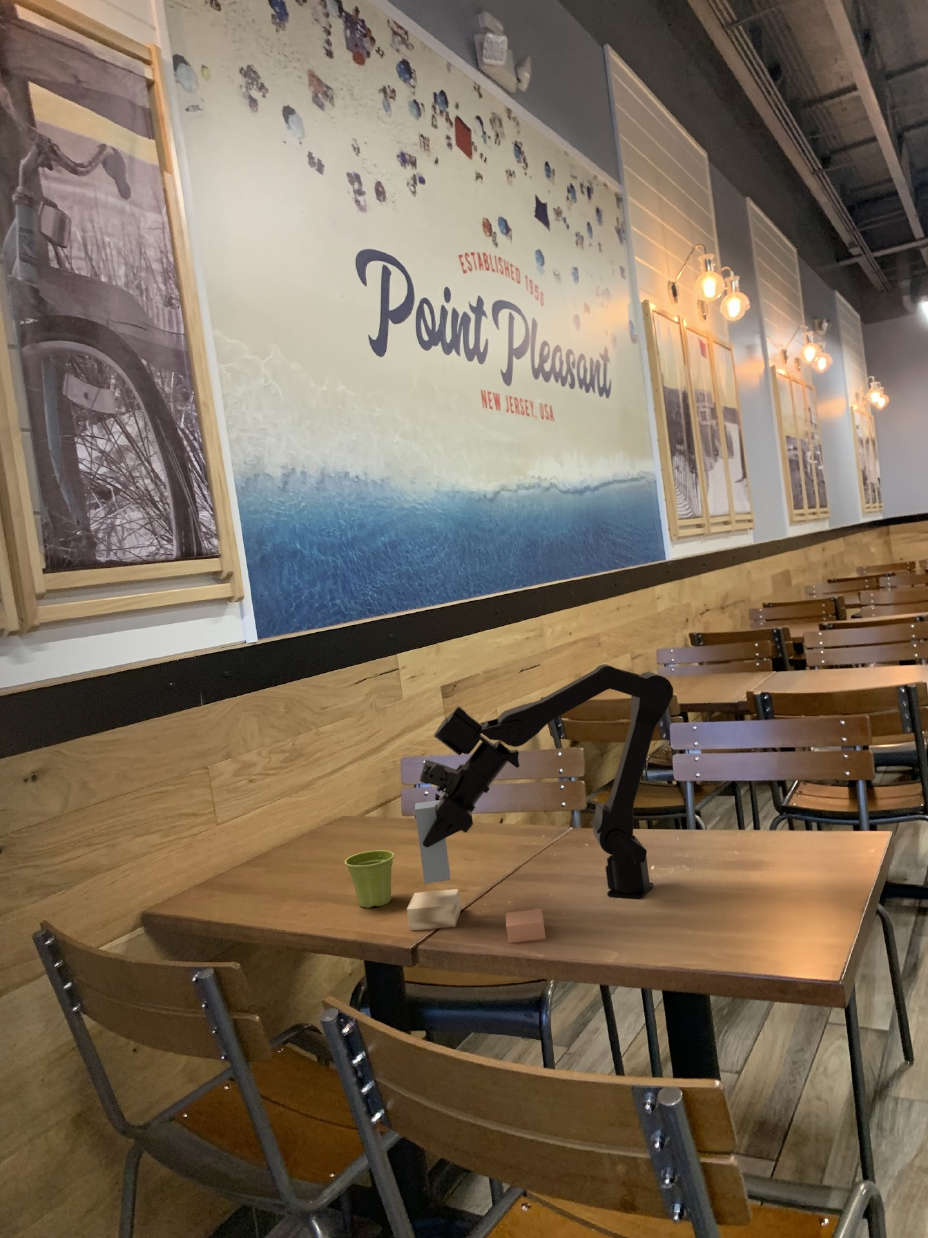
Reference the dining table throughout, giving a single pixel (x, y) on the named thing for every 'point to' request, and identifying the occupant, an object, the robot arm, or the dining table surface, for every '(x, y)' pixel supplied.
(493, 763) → the robot arm
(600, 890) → the dining table surface
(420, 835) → the slate post
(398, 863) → the dining table surface
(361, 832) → the dining table surface
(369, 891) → the plant pot
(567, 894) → the dining table surface
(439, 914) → the birch base
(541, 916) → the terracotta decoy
